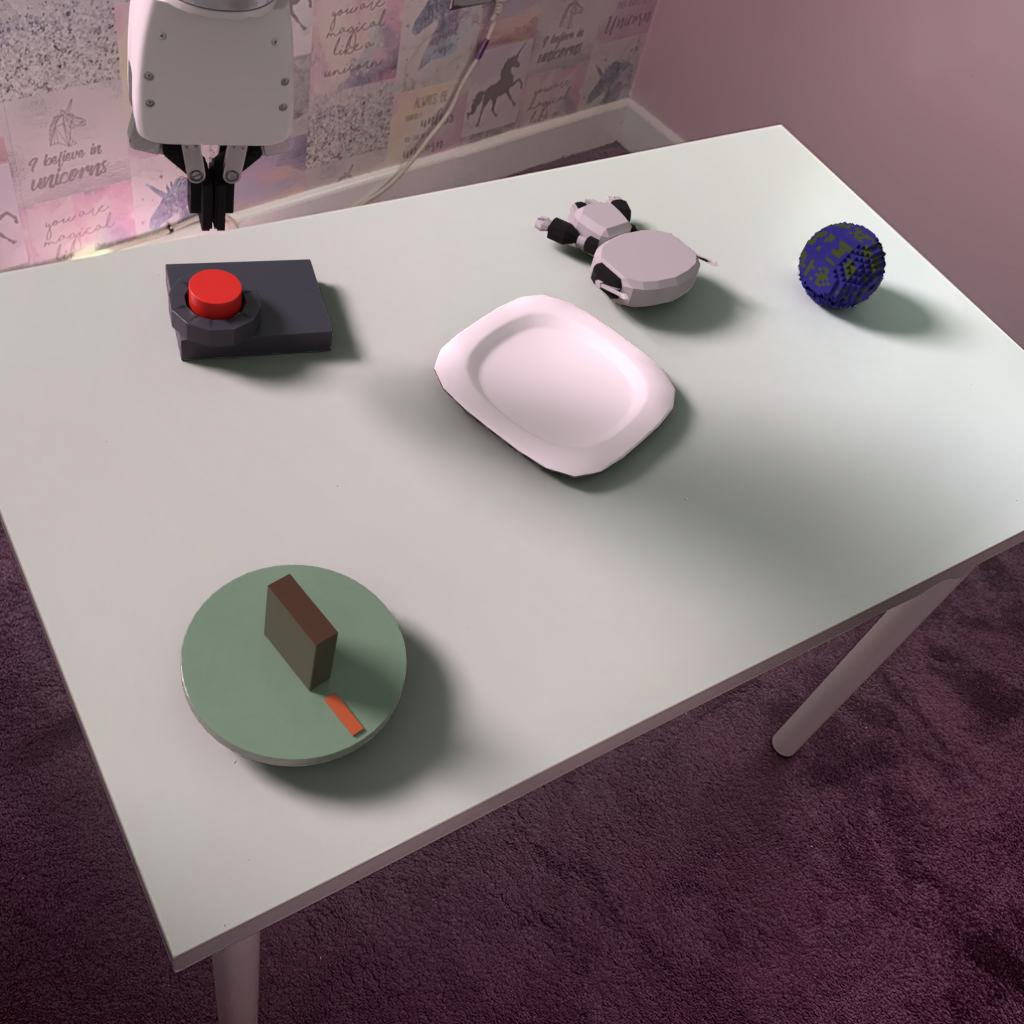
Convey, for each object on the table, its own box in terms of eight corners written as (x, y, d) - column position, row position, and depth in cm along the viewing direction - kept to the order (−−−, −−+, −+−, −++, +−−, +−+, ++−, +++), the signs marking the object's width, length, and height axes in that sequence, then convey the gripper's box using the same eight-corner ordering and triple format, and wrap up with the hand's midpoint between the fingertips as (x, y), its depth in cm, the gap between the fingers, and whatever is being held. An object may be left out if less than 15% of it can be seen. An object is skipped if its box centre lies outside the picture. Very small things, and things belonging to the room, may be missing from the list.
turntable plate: (137, 638, 66) (131, 579, 61) (321, 540, 74) (330, 481, 69) (264, 812, 61) (269, 763, 56) (448, 688, 69) (467, 636, 64)
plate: (692, 402, 94) (699, 389, 93) (573, 508, 83) (579, 495, 82) (537, 291, 99) (541, 276, 97) (406, 377, 88) (409, 363, 87)
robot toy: (520, 245, 104) (619, 335, 97) (528, 205, 100) (632, 295, 94) (611, 217, 110) (710, 299, 103) (622, 178, 107) (725, 261, 100)
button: (192, 322, 82) (192, 305, 80) (185, 287, 84) (185, 269, 82) (245, 319, 83) (246, 302, 82) (236, 284, 85) (237, 267, 84)
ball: (772, 281, 108) (804, 220, 102) (815, 259, 112) (849, 200, 106) (831, 329, 105) (867, 270, 99) (873, 306, 109) (911, 247, 103)
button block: (177, 370, 83) (175, 332, 80) (160, 284, 88) (158, 246, 85) (333, 359, 88) (338, 323, 84) (308, 278, 93) (312, 242, 90)
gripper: (325, -57, 67) (302, 187, 81) (73, -79, 62) (94, 186, 76) (353, 5, 63) (323, 250, 77) (85, -13, 58) (105, 255, 72)
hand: (210, 218), depth 76 cm, fingers closed
